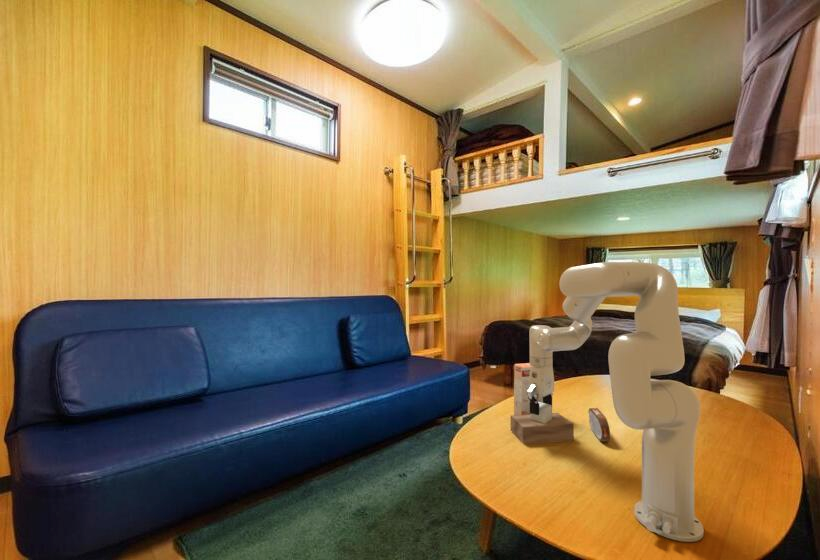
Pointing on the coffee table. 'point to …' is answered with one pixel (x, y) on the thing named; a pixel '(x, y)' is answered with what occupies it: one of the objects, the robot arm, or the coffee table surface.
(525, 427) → the walnut block
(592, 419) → the tin
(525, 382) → the cracker box
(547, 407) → the white cube
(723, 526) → the coffee table surface
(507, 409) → the coffee table surface
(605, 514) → the coffee table surface
